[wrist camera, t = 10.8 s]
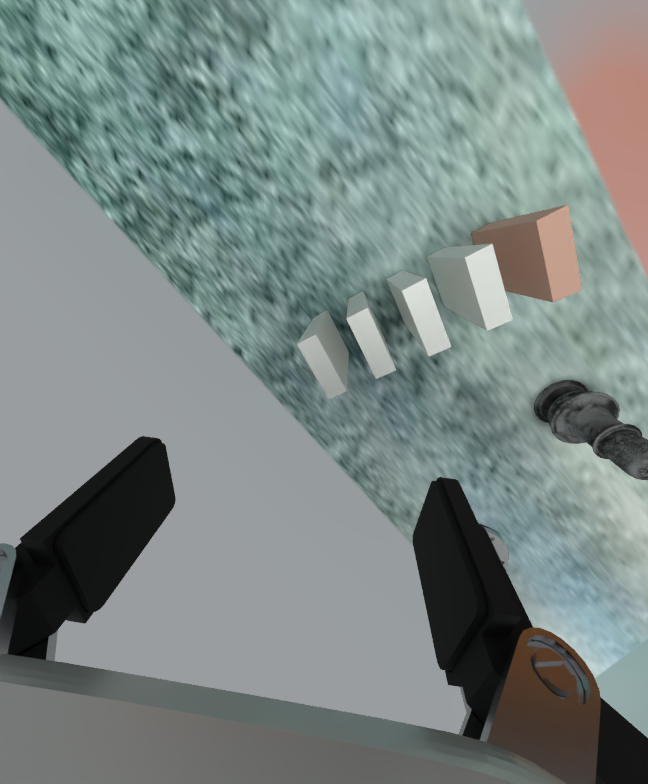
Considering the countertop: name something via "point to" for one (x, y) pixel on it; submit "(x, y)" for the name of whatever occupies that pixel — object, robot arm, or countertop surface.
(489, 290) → the domino
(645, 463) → the dark grey ornamental finial
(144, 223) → the countertop surface
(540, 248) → the end domino
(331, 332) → the domino
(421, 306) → the domino
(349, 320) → the domino
